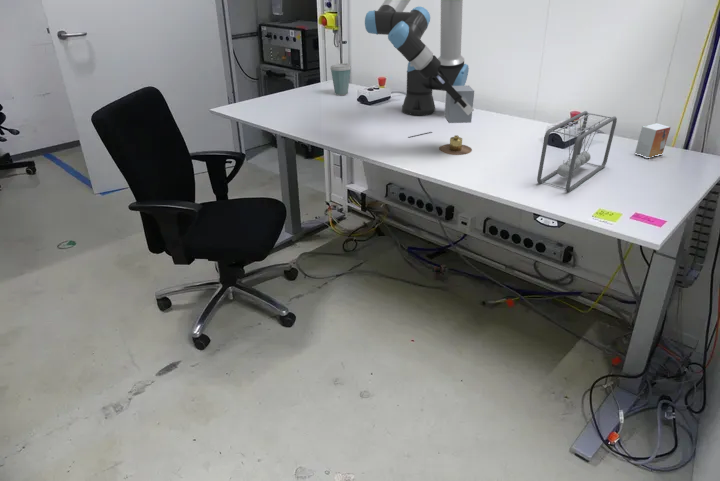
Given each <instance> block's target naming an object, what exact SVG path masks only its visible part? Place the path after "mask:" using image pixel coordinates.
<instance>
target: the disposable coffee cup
mask: <svg viewBox="0 0 720 481" xmlns="http://www.w3.org/2000/svg"><path fill="white" fill-rule="evenodd" d="M351 66H352V65H351V64H350V63H347V62H346V63H345V62H343V63H335V64H332V65H331V66H330V71H331V72H330V73H331V77H332V84H333V90H334V94H335V96H347V95H348V94H349V87H350V86H349V84H350V79H351V78H350V77H351V76H350V75H351V71H352V67H351ZM346 94H347V95H346Z"/></svg>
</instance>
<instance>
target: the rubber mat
mask: <svg viewBox="0 0 720 481" xmlns="http://www.w3.org/2000/svg"><path fill="white" fill-rule="evenodd" d="M432 133H433V132H432V131H428V132H424V133H420V134H419V133H418V134H414V135H410V136H408V137H407V138H409V139H410V138H411V139H412V138H415V137H419V136H423V135H428V134H432Z"/></svg>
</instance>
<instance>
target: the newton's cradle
mask: <svg viewBox="0 0 720 481" xmlns="http://www.w3.org/2000/svg"><path fill="white" fill-rule="evenodd" d="M591 115H592V116H596V117H601V118H602V119H601V120H600V119H599V120H598V121H597V119H596V118H594V120H595V121H597V122H592V121H590V123H592V125H588V124H587V123H588V122H589V121H588V120H589V119H591V120H592V118H590V117H589V116H591ZM617 119H618V118H617V116H607V115H603V114H602V115H601V114H597V113H590V112H588V111H587V110H585V111H582V112H580V113H578V114H576V115H575V116H572V117H571V118H568V119H567V120H564V121H562V122H561V123H559V124H557V125H556V124H555V125H554V126H553V127H550V128H548V129H547V131H546V132H545V134H544V138H543V142H542V143H543V144H542V148H541V149H542V150H541V156H540V160H539V166H538V172H537V178H536V179H537V183H538V184H545V185H550V186H553V187H556V188H560V189H562V190H563V189H564V190H565V191H566V192H568V193H570V192H571V191H573V190H575V189H576V188H577V187H578V186H580V185H582V183H583V184H584V182H586V181H587V180H588V179H590V178H591V177H592V176H594V175H596V174H597V173H598V172H600V171H601V170H603V169H604V168H605V167H606V165H607V162H608V158H609V155H610V154H609V153H610V150H611V146H612V142H613V139H614V134H615V130H616V127H617V126H616V125H617V121H618V120H617ZM581 122H582V123H581ZM611 122H612V124H611V128H610V130H609V131H610V132H609V136H608V140H607V144H606V148H605V152H604V157H603V160H602V161H603V162H602V163H601V165H598V164H594V163H590V162H589V161H590V160H591V153H590V152H588V151H589V148H590V146H591V144H592V141H593V139H594V137H595V134H596V133H597V131H598V130H600V129H601V128H603V127H605V126H607V125H608V124H610V123H611ZM576 123H577V124H579V126H577V128H579V129H580V130H579V131H578V130H577V133H574V134H571V133H566V131H565V130H566V129H567V127H571V126H572V127H574V128H576V125H574V124H576ZM597 124H598V125H597ZM587 126H588V127H587ZM592 127H593V128H592ZM561 130H563V131H562V132H561ZM568 130H569V131H571V128H568ZM572 131H573V132H576V129H572ZM551 133H556V134H560V135H563V142H565V141H566V140H565V138H566V136H569V137H574V138H575V141H574V145H573V146H572V149H571V140H569V142H568V143H569V145H568V146H569V151H568V152H569V155H568V156H569V157H568V158H567V161H566V162H565V161H564V162H563V164H561V165H559V166H558V167H557V168H556V170H554V171H552V172H551V173H549V174H548V175H546V176H544V177H543V178H542V176H543V170H544V169H543V168H544V163H545V160H546V158H545V157H546V152H547V147H548V141H549V136H550V134H551ZM593 133H594V134H593ZM592 134H593V136H592V139H591V141H590V138H591V135H592ZM565 135H566V136H565ZM587 136H589V137H588V140H587V142H586V138H587ZM589 141H590V144H588V143H589ZM585 142H586V143H585ZM587 145H588V148H587V150H586V147H587ZM583 146H584V149H583V151H582V148H583ZM585 164H587V165H590V166H595V167H597V168H595V169H594V170H592V171H591V172H590V173H588V174H587V175H585V176H584V177H582V178H581V179H580V180H578V181H577V182H575V183H574V184H572V185H571V183H572V180H573V179H572V177H573V174H574V171H575V170H577V169H579V168H580V167H582V166H584V165H585ZM602 168H603V169H602ZM557 174H558V175H559V176H560V177H567V180H566V185H565V187H563V186H560V185H558V184H553V183H550V182H546V181H547V180H549V179H551V178H552V177H553V176H555V175H557Z"/></svg>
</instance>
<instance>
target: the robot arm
mask: <svg viewBox="0 0 720 481" xmlns="http://www.w3.org/2000/svg"><path fill="white" fill-rule="evenodd" d="M410 2H411V0H384V1H383V2H382V4H381V5H380V7H379V8H378V9H377V10H376V9H375V10H369V11H367V13H366V14H365V17H364V26H365V31H366V32H367V33H368V34H373V35H385V36H386V35H387V39H388V41H389V42H390V43H391V44H392V45H393V47H394V49H396V50H397V51H398V52H399V53H400V54H401V55H402V56H403V57H404V58H405V59H406V60H407V70H406V94H405V97H404V101H403V103H402V106H401V112H402V113H403V114H406V115H410V116H419V117H420V116H429V115H432V114H435V112H436V105H435V101H434V96H433V91H443V92H445V93H446V92H447V93H448V94H449V95H450V96H451V97H452V98H453V99H454V100H455V102H454V104H456V103H457V104H458V105H459V106H460V107H461V108H462V109H463V111H464V112H465V113H466V114H467V115H469V114H470V113H471V112H472V113H473V112H474V111H475V109H474V108H472V107H471V106H470V105H469V104H468V103H467V102H466V100H465V99H464V98H463V97H462V96H461V95H459V93H458V92H457V91H456V90H455V89H454V88H453V87H452V86H466V83H467V80H468V76H469V69H470V68H469V64H467V63H465V57H463V55H462V34H463V33H462V32H463V31H462V29H463V7H464V6H463V3H464V2H463V0H440V35H439V36H440V40H439V41H440V44H439V45H440V46H439V47H440V48H439V50H440V53H439V54H440V55H439V57H437V56H436V55H434V52H433V51H431V49H430V48H429V47H428V46H427V45H426V44H425V43H424V42H423V41H422V39H421V38H422V37H423V36H424V34H425V31H426V30H427V29H428V26H429V24H430V23H431V15H430V14H431V13H430V12H429V10H428V9H426V8H425V7H424V6H423V7H422V6H415V7H414V8H412V10H410V11H405V9H406V8H407V6H408V5H409V3H410Z"/></svg>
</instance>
